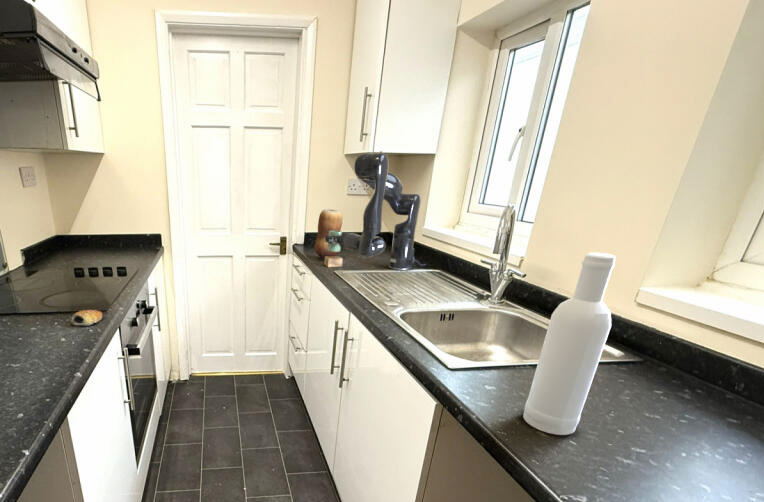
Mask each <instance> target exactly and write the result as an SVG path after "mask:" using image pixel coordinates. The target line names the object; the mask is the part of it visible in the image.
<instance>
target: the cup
mask: <svg viewBox="0 0 764 502" xmlns="http://www.w3.org/2000/svg"><path fill="white" fill-rule="evenodd" d="M342 234H343V230H340V231H329V236H333V235H337V236H338V235H342ZM335 238H336V237H335ZM341 250H342V248H341V247H340V246H339V244H337V243H328V251H333V252H337V251H340V252H341Z"/></svg>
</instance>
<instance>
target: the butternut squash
mask: <svg viewBox="0 0 764 502" xmlns="http://www.w3.org/2000/svg"><path fill="white" fill-rule="evenodd" d="M342 226H343V214H342V212H341V211H340V210H338V209H331V208H326V209H322V210H321V212H320V213H319V216H318V222H317V237H316V239H315V243H314V251H315V254H316V255H317V256H318V257H319V258H320V259H321V260H322V261H325V257H326V256H339V254H340V252H341V250H340V251H337V252H333V251H328V242H326V239H325V236H326V235H329V231H342Z"/></svg>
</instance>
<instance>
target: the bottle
mask: <svg viewBox="0 0 764 502" xmlns="http://www.w3.org/2000/svg"><path fill="white" fill-rule="evenodd" d="M616 258H617V257H616V256H615V255H614V254H611V253H603V252H588V253H586V254H585V256H584V259H583V260H582V262H581V268H580V269H581V270H580V273H579V276H578V279H577V283H576V285H575V289H574V293H573V296H572V297H569V298H568V299H566V300H564V301H562V302H561V303H559V304H558V306H557V307H556V308H555V309H554V310H553V312H552V313H551V316H550V320H549V323H548V326H547V330H546V332H545V333H546V334H545V337H544V341H543V344H542V348H541V351H540V354H539V358H538V362H537V365H536V368H535V372H534V376H533V380H532V383H531V387H530V389H529V394H528V397H527V399H526V402H525V405H524V411H523V414H522V415H523V416H522V417H523V419H524V421H525V422H526V423H527V424H528V425H530V426H531V427H533V428H534V429H536V430H539V431H541V432H543V433H547V434H549V435H550V434H551V435H556V436H568V435H572V434H574V432H576V429H577V426H578V425H579V423H580V420H581V414H582V412H583V409H584V406H585V403H586V400H587V398H588V394H589V391H590V389H591V385H592V384H593V380H594V377H595V374H596V372H597V369H598V366H599V362H600V360H601V357H602V354H603V351H604V348H605V345H606V342H607V340H608V337H609V334H610V331H611V328H612V316H611V315H612V314H611V310H610V309H609V308H608V306H607V305H606V304H605V303H604V301H603V298H604V295H605V292H606V290H607V287H608V282H609V281H610V277H611V274H612V270H613V269H614V268H615V266H616V264H615V262H616Z"/></svg>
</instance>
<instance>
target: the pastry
mask: <svg viewBox="0 0 764 502" xmlns="http://www.w3.org/2000/svg"><path fill="white" fill-rule="evenodd" d="M101 320H103V312H102V311H100V310H97V309H82V310H80V311H77V312H75V313H73V314H72V317H71V318H70V322H71V324H72V325H73V326H78V327H79V326H82V327H85V326H86V327H87V326H91V325H93V324H94V323H96V324H97V323H98V322H99V321H101Z"/></svg>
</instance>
